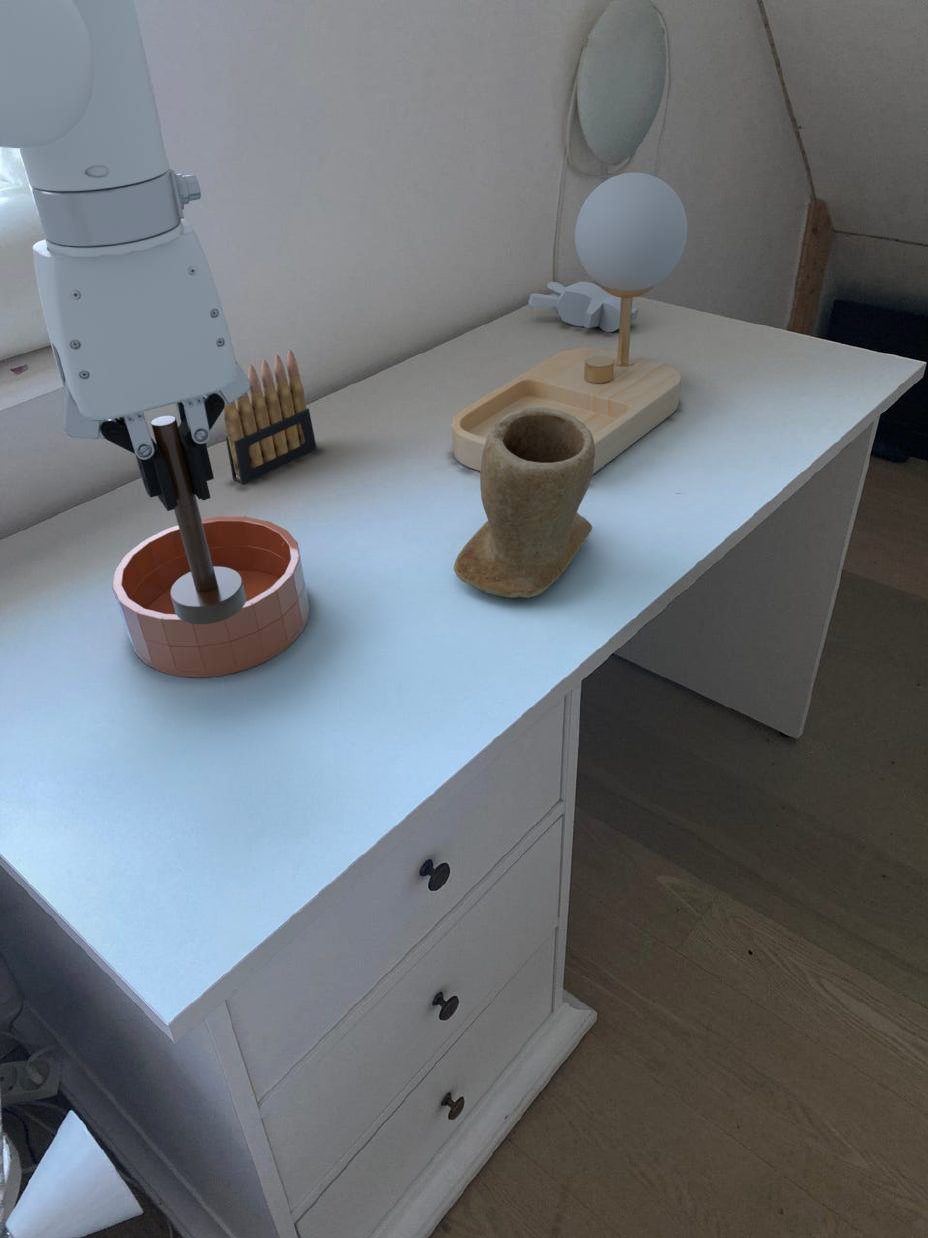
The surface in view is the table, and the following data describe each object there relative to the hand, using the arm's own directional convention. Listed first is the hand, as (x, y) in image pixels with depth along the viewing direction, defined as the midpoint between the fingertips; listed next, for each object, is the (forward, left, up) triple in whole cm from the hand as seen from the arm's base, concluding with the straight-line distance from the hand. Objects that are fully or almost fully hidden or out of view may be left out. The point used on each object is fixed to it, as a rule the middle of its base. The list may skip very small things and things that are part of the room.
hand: (182, 494), depth 64 cm
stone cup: (+30, +3, -19) cm, 36 cm away
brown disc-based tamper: (0, 0, -9) cm, 9 cm away
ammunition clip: (+17, +36, -19) cm, 44 cm away
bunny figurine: (+71, +51, -19) cm, 90 cm away
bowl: (+2, +11, -19) cm, 22 cm away
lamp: (+52, +25, -19) cm, 60 cm away
